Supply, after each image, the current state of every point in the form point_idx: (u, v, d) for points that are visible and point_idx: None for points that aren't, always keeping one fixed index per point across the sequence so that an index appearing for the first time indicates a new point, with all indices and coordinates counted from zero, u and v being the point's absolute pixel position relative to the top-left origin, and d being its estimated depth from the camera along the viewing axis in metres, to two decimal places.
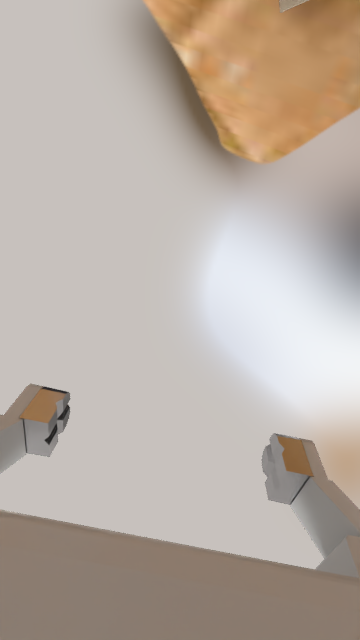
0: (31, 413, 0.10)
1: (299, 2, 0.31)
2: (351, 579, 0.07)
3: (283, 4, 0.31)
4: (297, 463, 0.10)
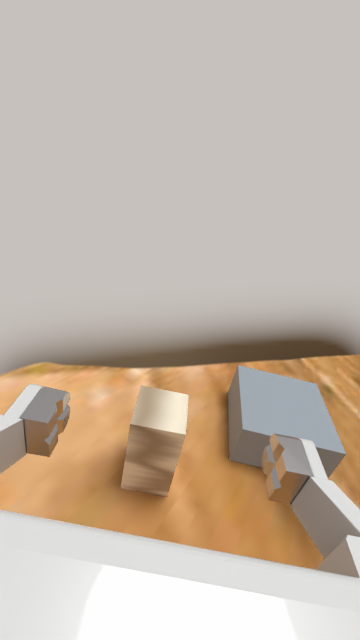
0: (31, 413, 0.10)
1: (138, 399, 0.28)
2: (351, 579, 0.07)
3: (145, 389, 0.30)
4: (297, 463, 0.10)
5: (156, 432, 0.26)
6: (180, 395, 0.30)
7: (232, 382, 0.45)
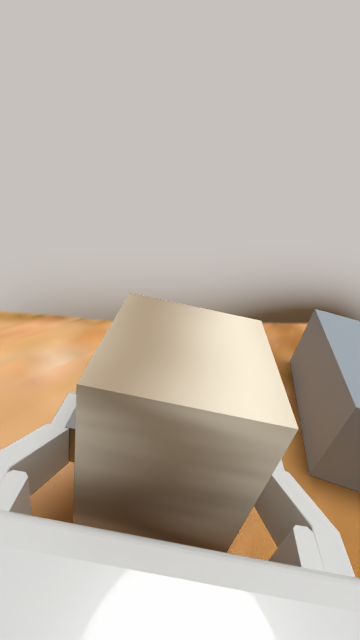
0: None
1: (119, 318, 0.09)
2: (351, 579, 0.07)
3: (142, 300, 0.10)
4: None
5: (182, 419, 0.07)
6: (240, 320, 0.10)
7: (301, 340, 0.26)
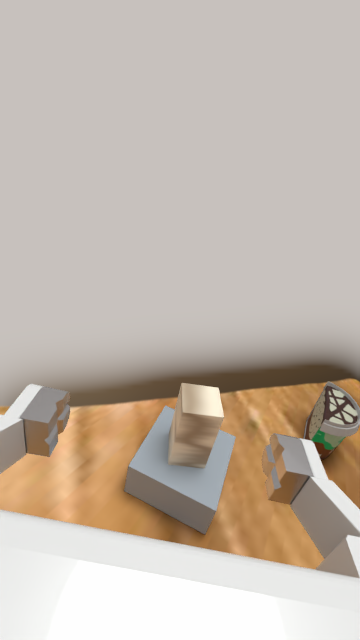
0: (31, 413, 0.10)
1: (183, 393, 0.36)
2: (351, 579, 0.07)
3: (186, 385, 0.38)
4: (297, 463, 0.10)
5: (202, 417, 0.34)
6: (212, 388, 0.38)
7: None
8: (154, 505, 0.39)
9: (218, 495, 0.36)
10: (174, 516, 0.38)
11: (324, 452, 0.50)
